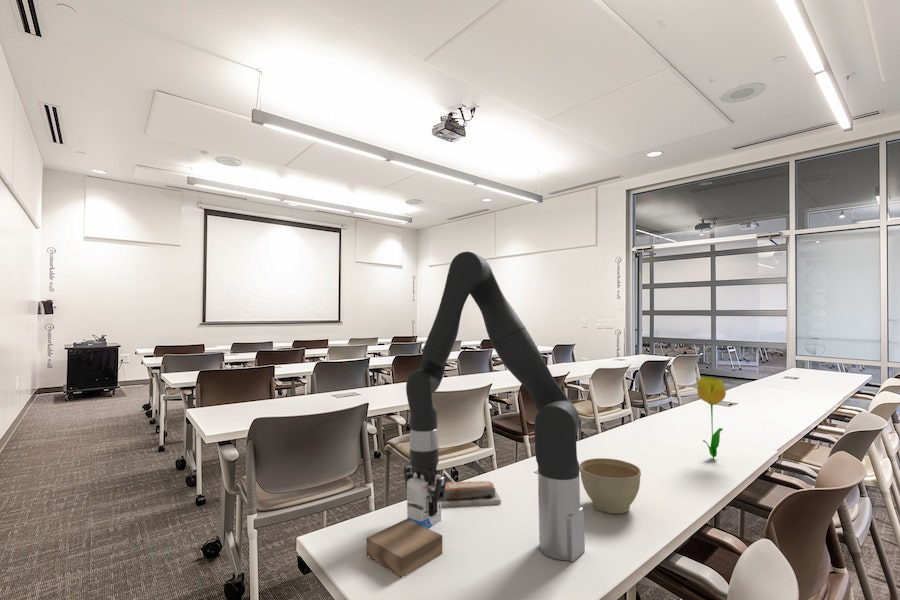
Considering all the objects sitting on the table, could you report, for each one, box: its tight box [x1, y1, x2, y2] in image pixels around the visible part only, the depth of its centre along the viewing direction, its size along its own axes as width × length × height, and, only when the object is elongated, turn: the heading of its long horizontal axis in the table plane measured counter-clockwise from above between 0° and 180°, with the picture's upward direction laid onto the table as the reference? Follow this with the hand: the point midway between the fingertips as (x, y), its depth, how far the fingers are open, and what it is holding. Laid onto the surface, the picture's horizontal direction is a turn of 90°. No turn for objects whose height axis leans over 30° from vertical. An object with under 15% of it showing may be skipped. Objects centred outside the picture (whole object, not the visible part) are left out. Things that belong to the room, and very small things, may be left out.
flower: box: [696, 376, 727, 460], centre depth 156 cm, size 9×8×30 cm
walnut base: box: [366, 518, 443, 578], centre depth 95 cm, size 12×12×4 cm
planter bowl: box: [579, 457, 642, 514], centre depth 118 cm, size 16×16×11 cm
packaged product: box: [441, 480, 502, 508], centre depth 124 cm, size 18×5×10 cm
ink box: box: [406, 474, 442, 529], centre depth 109 cm, size 9×5×12 cm, turn 143°
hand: (424, 511), depth 109 cm, fingers closed on ink box, 5 cm apart
